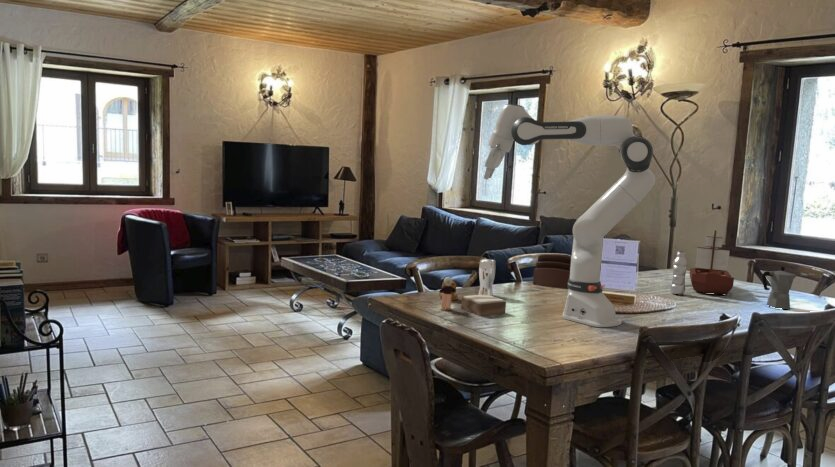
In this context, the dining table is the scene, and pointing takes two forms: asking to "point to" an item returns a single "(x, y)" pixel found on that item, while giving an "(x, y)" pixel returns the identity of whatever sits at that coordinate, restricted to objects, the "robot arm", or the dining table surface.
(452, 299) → the ornamental finial
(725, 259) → the sailing ship
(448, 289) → the grandmother figurine
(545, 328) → the dining table surface
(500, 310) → the plinth
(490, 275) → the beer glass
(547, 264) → the letter holder
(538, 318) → the dining table surface
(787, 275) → the coffeepot
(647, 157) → the robot arm
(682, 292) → the plastic bottle
